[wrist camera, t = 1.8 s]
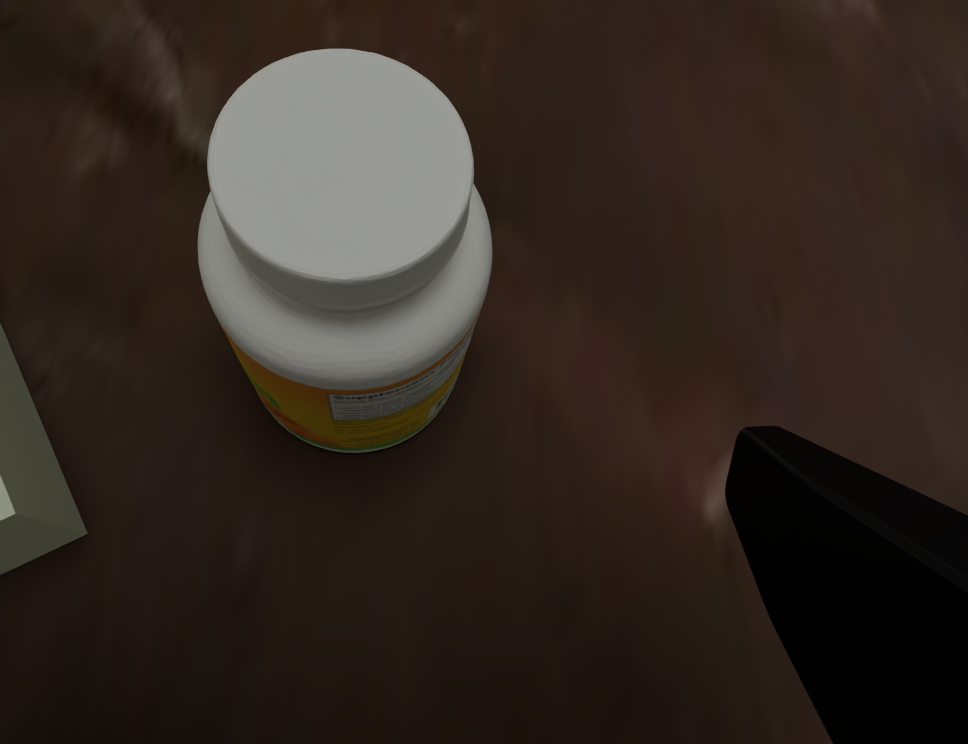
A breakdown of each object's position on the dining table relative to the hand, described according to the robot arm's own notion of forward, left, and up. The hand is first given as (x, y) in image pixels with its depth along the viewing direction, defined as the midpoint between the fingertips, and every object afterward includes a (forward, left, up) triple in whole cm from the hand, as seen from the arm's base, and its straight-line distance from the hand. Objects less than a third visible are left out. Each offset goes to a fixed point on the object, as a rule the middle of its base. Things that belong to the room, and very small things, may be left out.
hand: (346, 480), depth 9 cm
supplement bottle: (+4, +3, -12) cm, 13 cm away
